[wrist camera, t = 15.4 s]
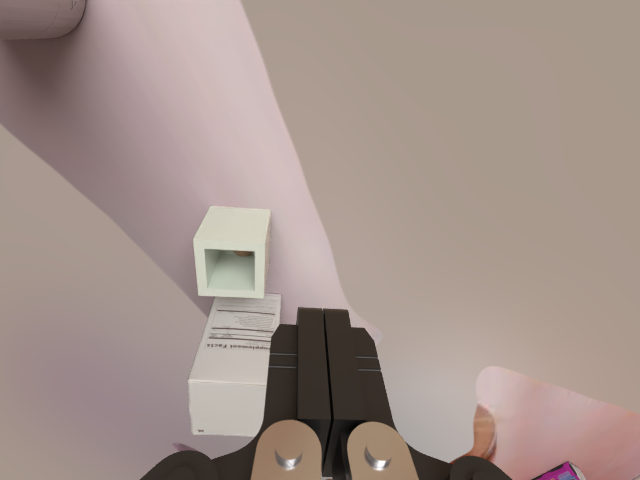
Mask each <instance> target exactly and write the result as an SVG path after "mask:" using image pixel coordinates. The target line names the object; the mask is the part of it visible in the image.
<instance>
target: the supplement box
mask: <svg viewBox="0 0 640 480" xmlns="http://www.w3.org/2000/svg"><path fill="white" fill-rule="evenodd" d="M280 311H281V295H280V294H268V293H265V295H264V298H241V297H218V296H215V298H214V301H213V304H212V307H211V310H210V313H209V316H208V320H207V323H206V326H205V329H204V332H203V335H202V338H201V341H200V344H199V347H198V350H197V353H196V356H195V359H194V362H193V365H192V368H191V371H190V374H189V377H188V381H187V384H188V396H189V412H190V420H191V432H192V434H194V435H237V436H250V437H255V436H256V435H257V434H258V432H259V430H260V428H261V425H262V423H263V417H264V407H265V396H266V386H267V376H268V366H269V355H270V345H271V336H272V335H273V333H274V332H275V330H276V329H277V327H278V326H279V324H280Z"/></svg>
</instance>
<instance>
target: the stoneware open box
mask: <svg viewBox="0 0 640 480" xmlns="http://www.w3.org/2000/svg"><path fill="white" fill-rule="evenodd" d="M270 226H271V210H269V209H253V208H238V207H222V206H210V208H209V210H208V212H207V214H206V216H205V218H204V220H203V222H202V223H201V225H200V227H199V229H198V231H197V233H196V235H195V237H194V239H193V244H194V254H195V265H196V275H197V286H198V296H218V297H241V298H264V295H265V288H266V281H267V274H268V267H269V260H270ZM232 250H238V251H254V252H253V253H252V254H251V255H249V256H246V257H241V256H238V255H236V254H235V253H234V252H233V251H232Z"/></svg>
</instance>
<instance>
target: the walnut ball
mask: <svg viewBox="0 0 640 480" xmlns="http://www.w3.org/2000/svg"><path fill="white" fill-rule="evenodd" d="M232 251H233V252H234V253H235V254H236V255H238V256H241V257H246V256H249V255H251V254H252V253H253V252H254V251H238V250H232Z"/></svg>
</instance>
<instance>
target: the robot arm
mask: <svg viewBox="0 0 640 480" xmlns="http://www.w3.org/2000/svg"><path fill="white" fill-rule="evenodd" d="M85 2H86V0H0V39H47V38H56V37H60V36H63V35H65V34H68V33H69V32H70V31H72V30H73V29H74V28H75V27H76V26H77V24H78V23H79V21H80V20H81V18H82V15H83V12H84V9H85ZM380 369H381V368H380V364H379V360H378V357H377V351H376V347H375V343H374V340H373V339H372V338H371V336H370V335H369V334H368V332H367V331H366V330H365V328H354V327H351V324H350V318H349V313H348V310H343V309H323V311H322V309H321V308H302V307H298V312H297V322H296V325H289V324H279V326H278V327H277V329H276V330H275V332H274V333H273V335H272V336H271V345H270V355H269V366H268V376H267V386H266V396H265V407H264V417H263V423H262V425H261V428H260V430H259V432H258V434H257V435H256V436H255V438H254V439H253V440H252V441H251V442H250V443H249V444H248V445H246V446H245V447H243V448H242V449H240V450H238V451H236V452H233V453H230V454H227V455H224V456H221V457H218V458H215V459H212V460H211V459H210V458H209V457H208V456H206V455H205V454H203V453H201V452H198V451H191V450H187V451H180V452H177V453H174V454H172V455H170V456H168V457H166V458H165V459H163V460H162V461H161V462H159V463H158V464H157V465H156V466H155V467H153V468H152V469H151V470H150V471H149V472H148V473H147V474H146V475H145V476H143V478H141V479H140V480H321V472H322V476H323V477H333V480H512V479H511V478H510V477H509V476H508V475H506V474H505V473H504V472H503V471H502V470H501V469H499V468H498V467H497V466H496V465H494V464H493V463H491V462H490V461H488V460H485V459H483V458H480V457H477V456H465V457H461V458H460V459H458V460H457V461H456V462H455V463H454V464H453V465H452V464H450V463H447V462H444V461H441V460H438V459H435V458H433V457H430V456H427V455H425V454H422V453H420V452H418V451H417V450H415V449H413V448H412V447H411V446H409V445H408V444H407V443H406V442H405V441H404V439H403V438H402V436H401V435H400V434H399V433H398V431H397V430H396V428H395V425H394V422H393V419H392V415H391V410H390V407H389V402H388V398H387V393H386V390H385V385H384V381H383V377H382V373H381V370H380Z"/></svg>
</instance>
